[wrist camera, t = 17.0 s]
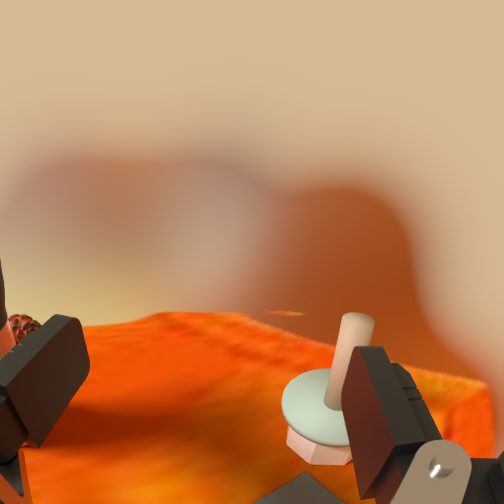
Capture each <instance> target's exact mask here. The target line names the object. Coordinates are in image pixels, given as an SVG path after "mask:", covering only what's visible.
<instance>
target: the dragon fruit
mask: <svg viewBox="0 0 504 504" xmlns="http://www.w3.org/2000/svg"><path fill="white" fill-rule="evenodd" d="M8 319H9V323H10V326H11V330H12V333H13V336H14V339H15V342H16V344H19V342H20V341H21V340H22V339H23V338H24V337H25V336H26V335H27V334H28V333H30V332H32V331H34V330H36V329H38V328H40V327H41V326H42V325H41V324H40V323H38V322H37V321H36V320H33V319H32V318H31V317H29V316H27V315H25V314H23V315H18V314H15V315H12V316H10V318H8Z"/></svg>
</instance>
